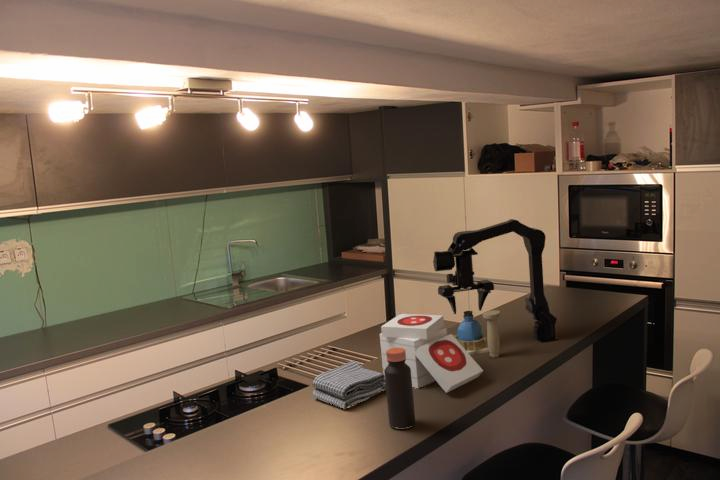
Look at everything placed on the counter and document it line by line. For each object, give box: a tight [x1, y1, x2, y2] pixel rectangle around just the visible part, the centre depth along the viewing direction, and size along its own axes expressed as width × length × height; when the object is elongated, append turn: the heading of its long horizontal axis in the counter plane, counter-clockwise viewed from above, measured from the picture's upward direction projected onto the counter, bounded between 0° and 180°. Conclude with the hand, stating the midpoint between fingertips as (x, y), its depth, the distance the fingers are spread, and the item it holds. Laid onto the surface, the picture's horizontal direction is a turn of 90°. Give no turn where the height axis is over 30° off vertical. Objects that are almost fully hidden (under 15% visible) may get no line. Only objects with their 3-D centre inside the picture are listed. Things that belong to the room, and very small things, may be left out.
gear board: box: [452, 333, 489, 356], centre depth 212 cm, size 14×14×4 cm
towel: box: [311, 360, 386, 410], centre depth 180 cm, size 15×18×8 cm
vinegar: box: [384, 348, 416, 428], centre depth 156 cm, size 7×7×20 cm
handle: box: [482, 309, 501, 359], centre depth 200 cm, size 5×6×15 cm
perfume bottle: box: [456, 310, 483, 341], centre depth 211 cm, size 6×6×12 cm
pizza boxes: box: [379, 313, 484, 394], centre depth 185 cm, size 19×30×18 cm, turn 42°
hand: (467, 312), depth 211 cm, fingers open, 9 cm apart
